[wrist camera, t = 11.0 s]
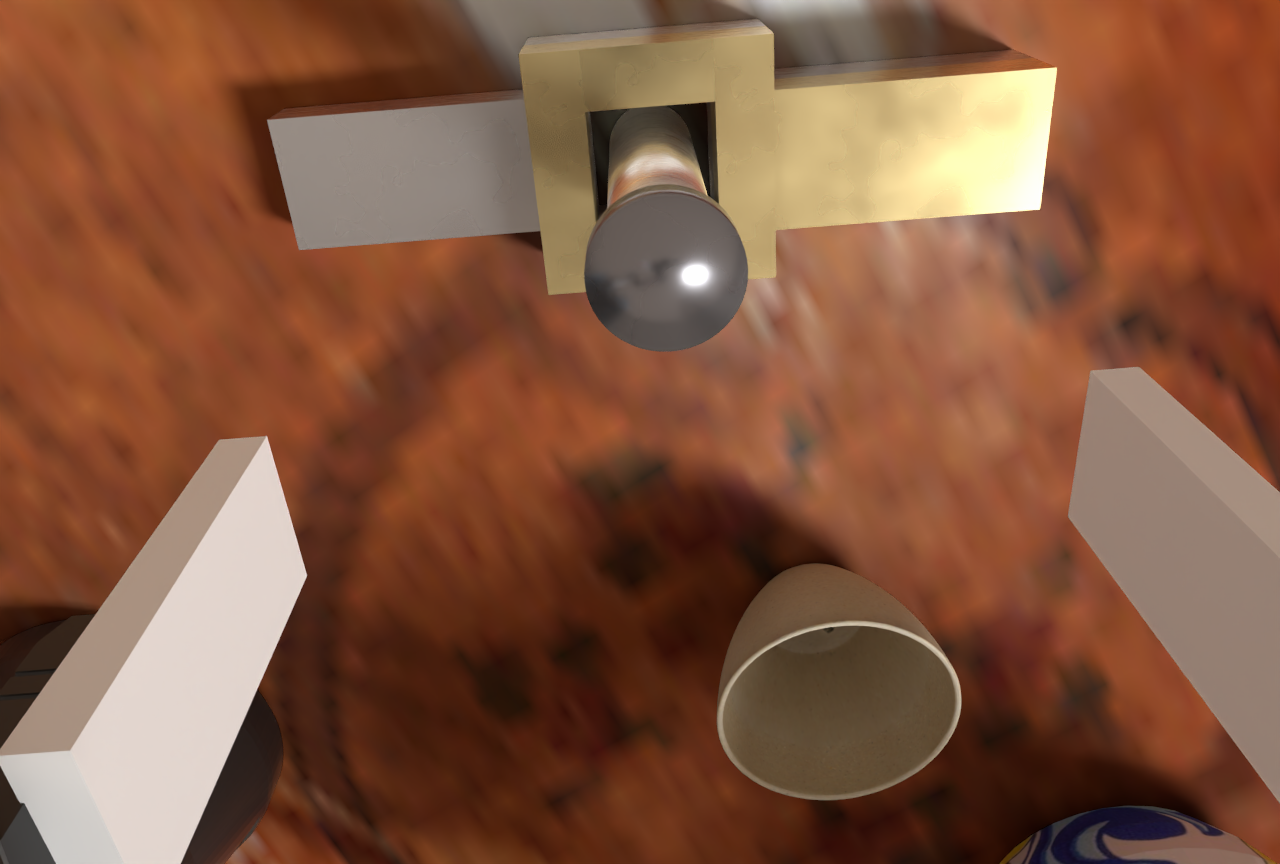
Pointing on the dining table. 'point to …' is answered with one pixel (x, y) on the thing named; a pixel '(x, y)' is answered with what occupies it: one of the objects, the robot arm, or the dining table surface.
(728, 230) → the pin
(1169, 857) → the table lamp
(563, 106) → the bar with brass collar
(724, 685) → the flower pot
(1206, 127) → the dining table surface
